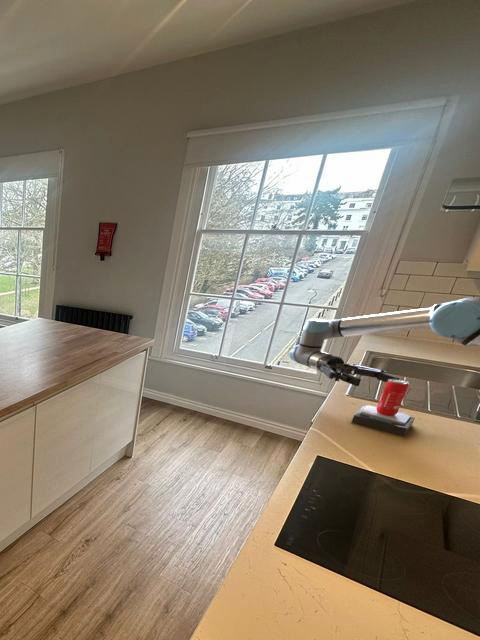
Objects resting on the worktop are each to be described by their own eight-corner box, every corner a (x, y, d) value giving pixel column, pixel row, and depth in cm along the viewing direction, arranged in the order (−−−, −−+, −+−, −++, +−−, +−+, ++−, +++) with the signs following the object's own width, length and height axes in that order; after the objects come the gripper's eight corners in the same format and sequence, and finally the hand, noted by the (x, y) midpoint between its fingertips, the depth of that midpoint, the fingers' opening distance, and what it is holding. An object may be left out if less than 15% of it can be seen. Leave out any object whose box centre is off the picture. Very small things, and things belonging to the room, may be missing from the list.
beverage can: (382, 416, 136) (395, 383, 132) (371, 409, 141) (383, 378, 137) (400, 417, 135) (414, 384, 131) (388, 410, 140) (401, 379, 136)
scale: (411, 425, 137) (415, 415, 136) (403, 436, 130) (407, 426, 129) (361, 412, 147) (365, 403, 146) (351, 422, 140) (354, 413, 139)
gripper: (354, 371, 162) (408, 391, 142) (293, 372, 162) (339, 392, 142) (360, 353, 159) (416, 371, 139) (298, 355, 159) (346, 373, 139)
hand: (378, 382), depth 140 cm, fingers open, 13 cm apart
